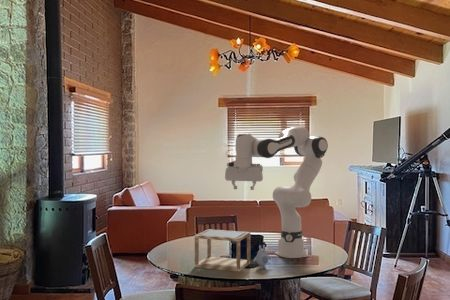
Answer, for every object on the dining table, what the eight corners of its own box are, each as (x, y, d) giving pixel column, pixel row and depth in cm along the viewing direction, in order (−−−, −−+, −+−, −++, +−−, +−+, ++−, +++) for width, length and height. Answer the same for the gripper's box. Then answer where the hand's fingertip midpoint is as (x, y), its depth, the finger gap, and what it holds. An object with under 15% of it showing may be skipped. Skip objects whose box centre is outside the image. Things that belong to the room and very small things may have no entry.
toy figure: (256, 271, 231) (256, 247, 231) (250, 268, 236) (250, 244, 236) (274, 268, 236) (274, 244, 236) (267, 265, 242) (267, 242, 242)
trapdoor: (245, 238, 246) (245, 232, 246) (236, 244, 233) (236, 237, 233) (210, 236, 253) (210, 230, 253) (199, 241, 240) (199, 234, 240)
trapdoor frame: (250, 263, 247) (250, 232, 247) (239, 271, 230) (239, 238, 230) (208, 259, 256) (208, 229, 255) (194, 267, 239) (194, 235, 239)
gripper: (264, 163, 246) (264, 189, 246) (228, 163, 253) (228, 188, 253) (260, 164, 240) (260, 190, 240) (223, 163, 247) (224, 189, 247)
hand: (243, 189), depth 247 cm, fingers open, 8 cm apart
